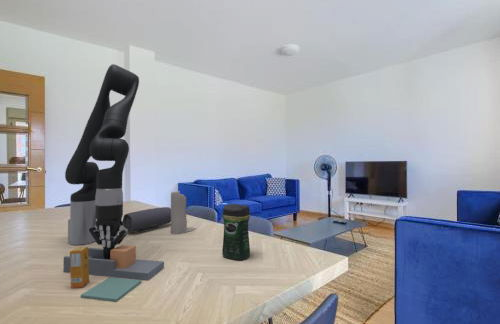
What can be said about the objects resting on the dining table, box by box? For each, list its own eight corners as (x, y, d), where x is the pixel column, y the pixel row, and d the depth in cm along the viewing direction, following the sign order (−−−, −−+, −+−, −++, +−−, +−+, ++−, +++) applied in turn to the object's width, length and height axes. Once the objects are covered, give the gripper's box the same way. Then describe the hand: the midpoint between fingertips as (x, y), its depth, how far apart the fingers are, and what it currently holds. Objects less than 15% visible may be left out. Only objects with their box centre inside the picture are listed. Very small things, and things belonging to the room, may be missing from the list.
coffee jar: (253, 255, 93) (253, 204, 93) (242, 262, 86) (242, 207, 87) (230, 250, 98) (231, 201, 98) (218, 257, 91) (219, 204, 91)
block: (110, 266, 77) (110, 250, 77) (121, 260, 82) (121, 244, 82) (124, 268, 76) (125, 251, 76) (135, 262, 81) (135, 246, 81)
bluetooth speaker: (162, 223, 140) (163, 205, 140) (173, 226, 135) (174, 207, 135) (121, 232, 122) (121, 211, 122) (132, 236, 116) (132, 213, 116)
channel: (63, 272, 78) (63, 257, 78) (87, 260, 87) (87, 247, 87) (147, 280, 73) (147, 264, 73) (164, 267, 82) (164, 253, 82)
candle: (199, 228, 130) (199, 189, 130) (177, 235, 118) (178, 191, 118) (188, 226, 134) (189, 188, 134) (167, 232, 122) (167, 190, 122)
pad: (80, 297, 63) (80, 295, 63) (109, 279, 73) (109, 277, 73) (116, 301, 62) (116, 299, 62) (141, 282, 72) (141, 280, 72)
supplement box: (76, 282, 71) (76, 246, 71) (89, 282, 71) (89, 246, 71) (68, 288, 68) (69, 250, 68) (82, 288, 68) (83, 250, 68)
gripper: (81, 203, 77) (80, 261, 77) (120, 205, 75) (119, 265, 75) (100, 200, 85) (99, 252, 85) (136, 201, 82) (135, 255, 82)
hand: (108, 258), depth 80 cm, fingers closed
